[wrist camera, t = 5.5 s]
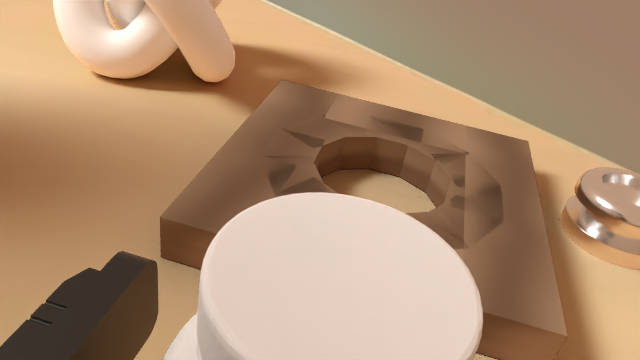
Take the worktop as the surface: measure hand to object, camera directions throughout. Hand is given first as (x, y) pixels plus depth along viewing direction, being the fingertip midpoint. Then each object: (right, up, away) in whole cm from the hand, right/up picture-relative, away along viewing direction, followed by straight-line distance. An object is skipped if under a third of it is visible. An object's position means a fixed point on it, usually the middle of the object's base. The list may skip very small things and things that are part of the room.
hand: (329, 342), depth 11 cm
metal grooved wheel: (+15, 0, +16) cm, 22 cm away
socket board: (+3, +2, +15) cm, 15 cm away
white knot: (-11, +11, +25) cm, 29 cm away
